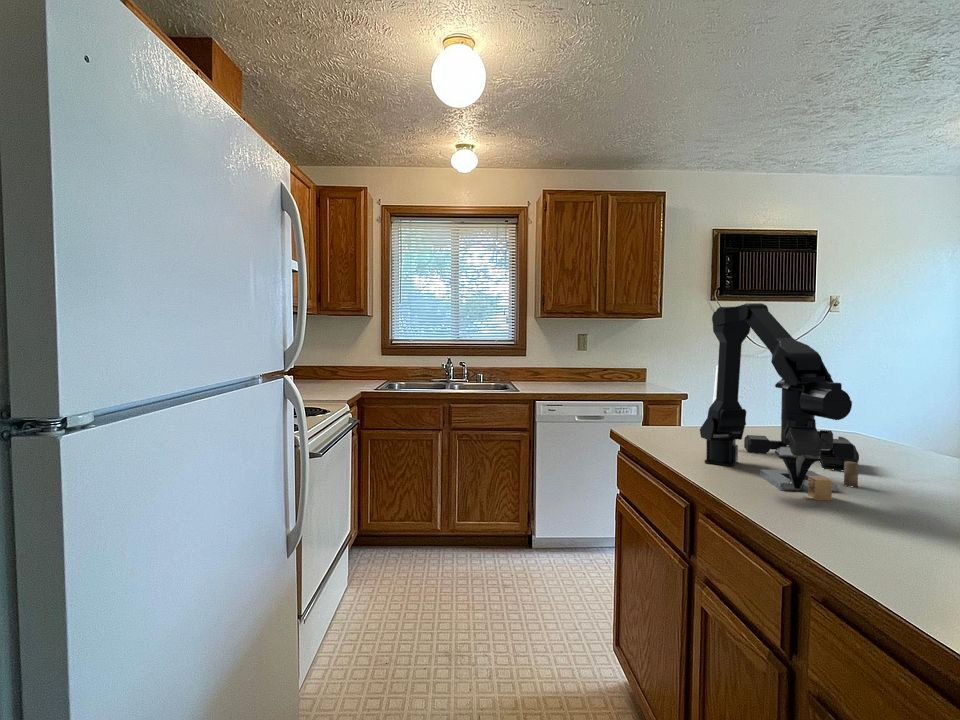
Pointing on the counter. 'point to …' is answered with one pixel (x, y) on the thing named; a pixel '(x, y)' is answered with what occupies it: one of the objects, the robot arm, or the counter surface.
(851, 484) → the dowel
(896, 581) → the counter surface
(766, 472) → the flange plate
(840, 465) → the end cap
